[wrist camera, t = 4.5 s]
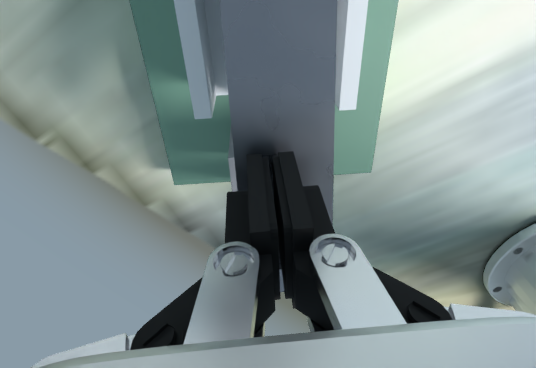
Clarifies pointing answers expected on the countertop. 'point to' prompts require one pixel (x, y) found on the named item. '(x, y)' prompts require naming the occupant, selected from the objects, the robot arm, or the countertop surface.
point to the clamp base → (214, 133)
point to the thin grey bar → (282, 86)
